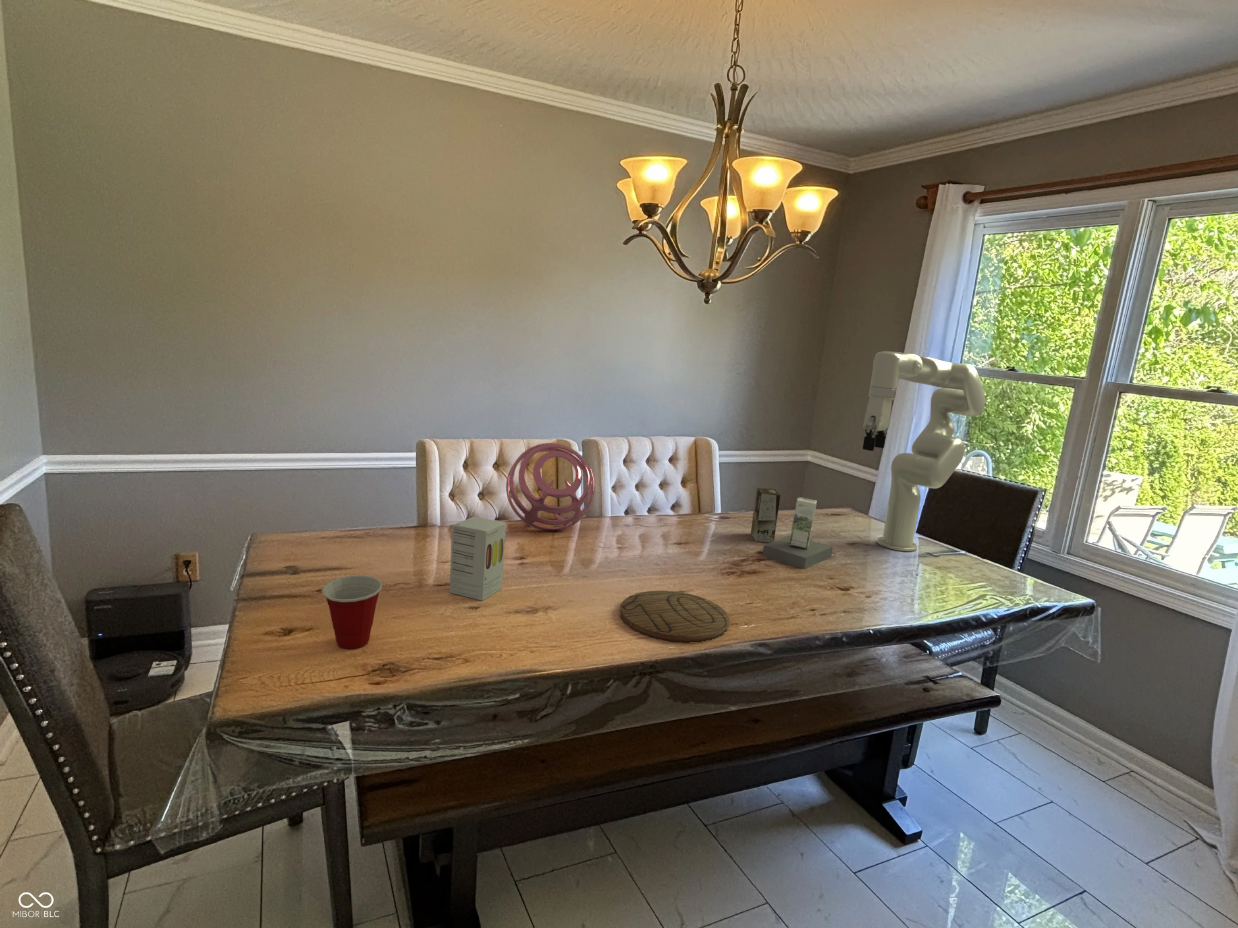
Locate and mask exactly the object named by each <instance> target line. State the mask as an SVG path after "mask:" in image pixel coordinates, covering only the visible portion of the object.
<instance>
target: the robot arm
mask: <svg viewBox="0 0 1238 928" xmlns="http://www.w3.org/2000/svg"><path fill="white" fill-rule="evenodd" d="M872 366H873V367H872V373H871V379H870V386H869V392H868V397H869V400H868V403H867V407H866V411H865V416H864V420H863V425H862V426H863V429H864V435H863V436H864V437H863V443H862V444H863V445H862V450H864V451H865V450H866V451H870V452H874V450H875V448H878V449H879V448H880V449H884V448H885V445H886V444H885V443H886V440H887V439H886V438H887V433H888V432H887V430H888V428H889V425H890V420H891V413H892V412H891V411H892V404H893V403H892V402H893V401H895V400H896V395H897V388H898V384H899V383H898V382H899V380H903V381H908V382H910V383H911V382H912V383H916V384H921V385H927V386H932V387H935V388H936V387H937V389H935V390H934V391H933V392H932V394H931V398H930V417H929V422H928V423H927V425H926V426H925V427H924V428H923V430H922V431H921V432H920V433H919V435H918V436H917V437H916V438H915V440H914V441H913V443H912V445H911V452H912V453H910V452H902V453H901V452H900V453H898V454H897V455H896V456H894V457H893V460H892V462H891V464H890V473H891V474H890V475H891V483H890V492H889V498H888V504H887V509H886V515H885V521H884V528H883V533H882V536H879V537H878V538H877V539H876V542H877V543H878V545H880V546H881V547H883V548H887V549H890V550H895V551H899V552H900V551H901V552H914V551H916V550H917V548H918V545H917V544H916V543H915V542H914V537H915V532H916V527H917V526H916V525H917V521H918V515H919V510H920V503H921V492H920V489H919V487H918V486H920V487H925V488H929V489H940V488H941V487H942V486H944V485H945V484H946V482H947V481H948V480H949V478H950V477H951V476H952V475H953V473H954V472H955V470H956V469H957V468H958V467H959V465H960V464H961V462H962V461H963V459H964V456H965V450H966V445H965V443H964V441H963V440H962V439H961V438H959V437H956V436H953V435H954V433H955V426H954V422H953V420H952V418H951V415H950V414H954V415H960V416H967V417H976V416H979V415H981V414H982V412H983V411H984V409H985V406H986V395H985V392H984V388H983V383H982V381H981V378H980V375H979V373H978V371H977V369H976V367H974V366H973V365H972V364H968V363H961V362H960V363H959V362H950V361H945V360H940V359H937V358H933V357H928V356H919V355H917V354H915V353H908V352H899V351H887V350H884V351H879V352H876V354H875V356H874V358H873V365H872Z"/></svg>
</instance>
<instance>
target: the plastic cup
mask: <svg viewBox="0 0 1238 928" xmlns="http://www.w3.org/2000/svg"><path fill="white" fill-rule="evenodd" d="M382 586H383V582H382V581H381V580H380V579H379V578H376V577H374V576H373V575H365V574H364V575H363V574H360V575H359V574H355V575H347V576H341V577H337V578H335V579H332V580H330V581H328V582H327V583H325V584H324V585H323V587H322V590H321V593H322V595H323V596H324V598H325V599H326V602H327V605H328V609H329V614H330V620H331V624H332V628H333V631H334V635H335V636H334V637H335V642H336V644H337V646H338V647H339V648H341V649H344V650H356V649H360V648H363V647H365V646H367V645H368V644H369V640H370V638H371V637H370V636H371V632H372V628H373V624H374V620H375V619H374V617H375V614H376V613H375V612H376V607H377V603H378V599H379V594H380V592H381V591H382Z"/></svg>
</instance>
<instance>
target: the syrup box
mask: <svg viewBox="0 0 1238 928" xmlns="http://www.w3.org/2000/svg"><path fill="white" fill-rule="evenodd" d="M817 502H818V501H817V499H812V498H811V499H810V498H806V497H799V496H798V497H797V499H796V503H795V509H794V515H793V520H792V526H791V531H790V535H791V536H790V535H789V536H790V542H789V545H791V546H796V547H800V548H805V549H808V545H809V540H811V533H812V529H813V524H814V523H813V522H814V518H815V512H816V508H817Z"/></svg>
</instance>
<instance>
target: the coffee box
mask: <svg viewBox="0 0 1238 928" xmlns="http://www.w3.org/2000/svg"><path fill="white" fill-rule="evenodd" d="M755 489H756V490H755V496H754V497H755V498H754V506H753V510H752V511H753V513H752V519H751V520H752V521H751V528H750V529H751V530H750V534H751V536H752V538H753V540H754V541H755V542H762V543H771V542H774V541H775V537H776V536H775V535H776V529H777V521H778V515H779V509H780V508H779V507H780V503H781V502H780V501H781V494H780V493H779V492H778V491H777V490H776V489H775V488H769V487H768V488H765V487H763V488H762V487H756V488H755Z"/></svg>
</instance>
